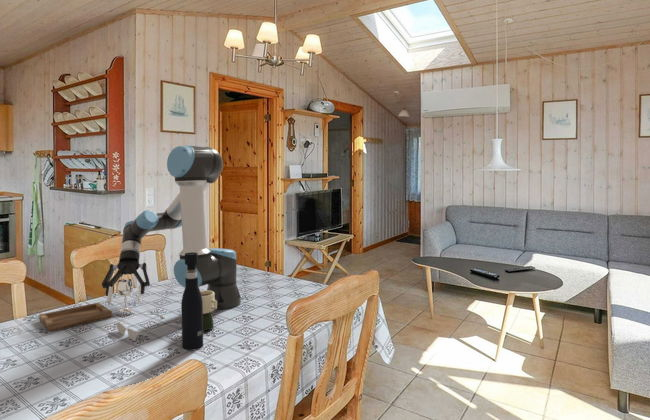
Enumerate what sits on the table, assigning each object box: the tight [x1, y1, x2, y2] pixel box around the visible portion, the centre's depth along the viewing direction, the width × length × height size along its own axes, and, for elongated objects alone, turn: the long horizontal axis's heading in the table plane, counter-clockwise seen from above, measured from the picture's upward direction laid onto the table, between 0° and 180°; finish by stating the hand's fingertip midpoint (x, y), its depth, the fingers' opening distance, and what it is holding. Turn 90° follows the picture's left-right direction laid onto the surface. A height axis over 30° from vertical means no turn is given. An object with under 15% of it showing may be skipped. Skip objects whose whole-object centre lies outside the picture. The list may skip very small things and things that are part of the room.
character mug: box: [200, 290, 218, 332], centre depth 148 cm, size 11×7×13 cm, turn 66°
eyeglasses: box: [115, 313, 182, 342], centre depth 148 cm, size 15×18×4 cm
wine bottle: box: [180, 252, 204, 351], centre depth 133 cm, size 6×6×30 cm
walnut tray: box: [39, 302, 113, 333], centre depth 156 cm, size 14×20×2 cm
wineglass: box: [116, 278, 134, 313], centre depth 167 cm, size 6×6×12 cm
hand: (123, 302), depth 164 cm, fingers open, 10 cm apart
